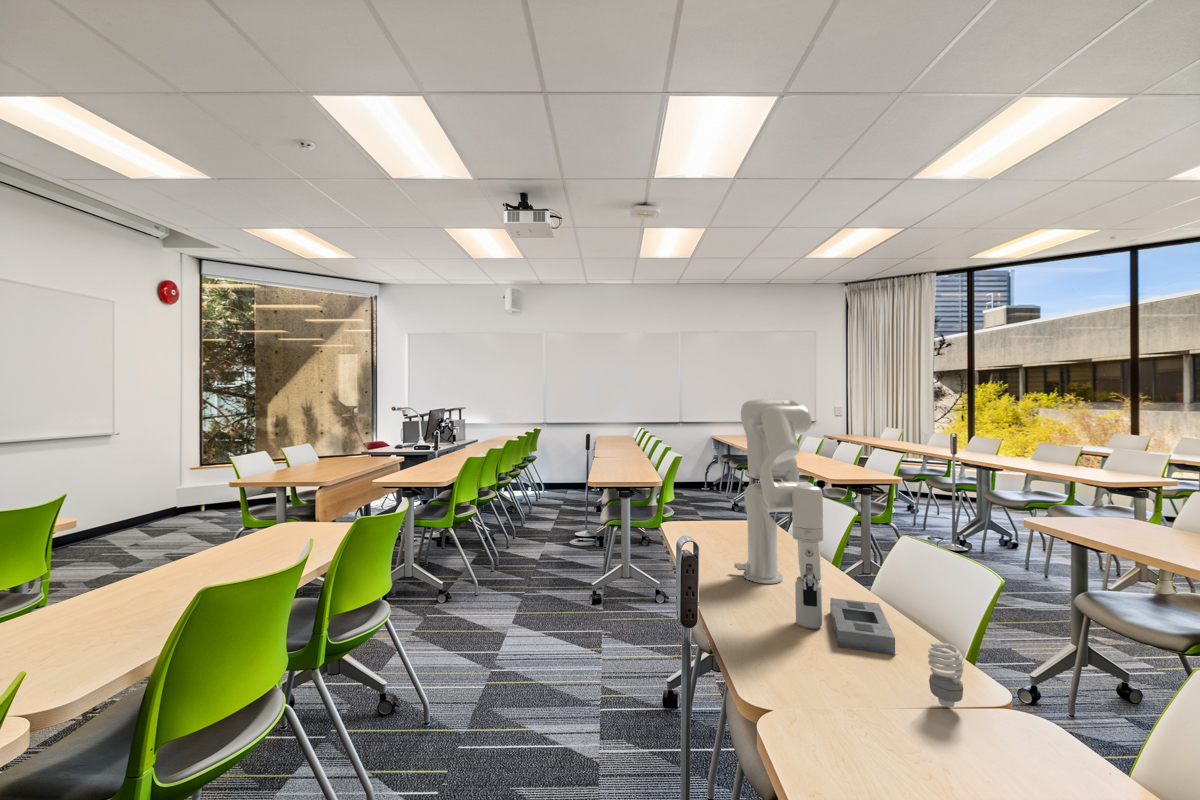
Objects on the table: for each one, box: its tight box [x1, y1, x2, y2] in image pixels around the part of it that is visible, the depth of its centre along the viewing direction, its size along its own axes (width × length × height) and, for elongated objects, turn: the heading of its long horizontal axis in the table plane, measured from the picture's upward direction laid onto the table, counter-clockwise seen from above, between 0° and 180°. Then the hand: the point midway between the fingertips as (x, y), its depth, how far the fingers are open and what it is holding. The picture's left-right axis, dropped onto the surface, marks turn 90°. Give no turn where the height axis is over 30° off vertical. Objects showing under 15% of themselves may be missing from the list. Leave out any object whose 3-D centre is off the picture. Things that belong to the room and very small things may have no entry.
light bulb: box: [927, 641, 965, 709], centre depth 97 cm, size 6×6×12 cm
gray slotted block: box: [829, 597, 896, 656], centre depth 129 cm, size 12×22×4 cm, turn 160°
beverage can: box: [794, 575, 823, 630], centre depth 134 cm, size 6×6×12 cm
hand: (809, 599), depth 133 cm, fingers open, 9 cm apart
